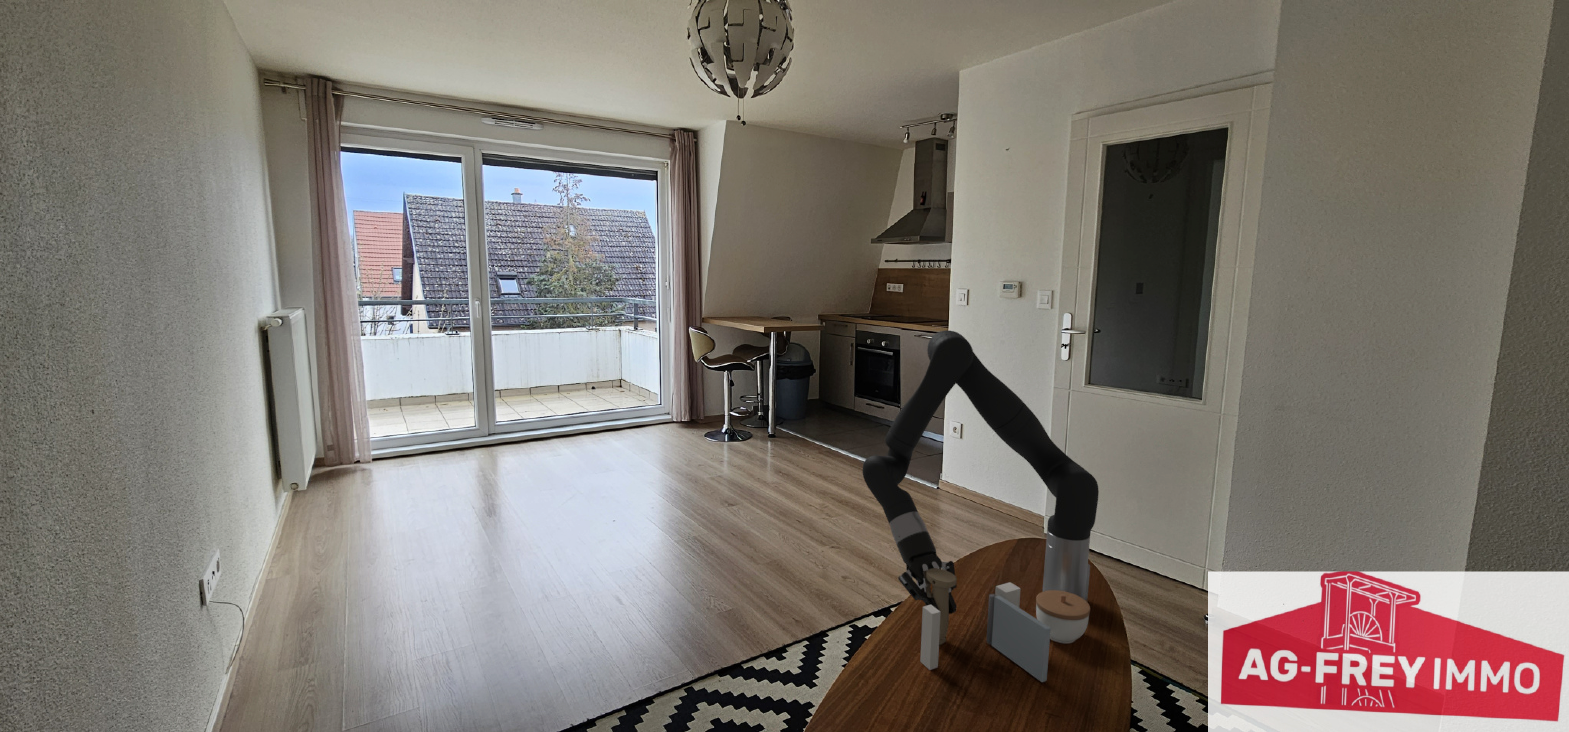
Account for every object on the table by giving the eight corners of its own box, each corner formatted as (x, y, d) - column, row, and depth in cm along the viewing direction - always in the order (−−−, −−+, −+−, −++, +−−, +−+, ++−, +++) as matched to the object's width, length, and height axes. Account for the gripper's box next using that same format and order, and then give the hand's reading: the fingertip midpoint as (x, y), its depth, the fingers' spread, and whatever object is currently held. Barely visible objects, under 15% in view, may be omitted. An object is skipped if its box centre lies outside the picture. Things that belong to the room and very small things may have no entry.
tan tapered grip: (942, 651, 139) (946, 584, 137) (918, 638, 144) (921, 572, 142) (957, 643, 142) (961, 577, 140) (932, 630, 147) (936, 565, 145)
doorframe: (1006, 633, 146) (1009, 582, 144) (1016, 640, 143) (1020, 588, 141) (920, 661, 136) (922, 606, 134) (929, 669, 133) (932, 613, 131)
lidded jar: (1082, 655, 138) (1086, 613, 137) (1028, 639, 144) (1031, 598, 142) (1091, 631, 147) (1094, 591, 146) (1039, 616, 153) (1042, 578, 151)
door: (984, 641, 142) (987, 592, 141) (990, 639, 143) (993, 590, 141) (1041, 682, 129) (1045, 629, 127) (1047, 680, 130) (1051, 627, 128)
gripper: (892, 536, 143) (926, 617, 135) (945, 524, 149) (981, 601, 141) (877, 549, 149) (909, 628, 140) (929, 538, 155) (962, 612, 146)
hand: (945, 614), depth 141 cm, fingers closed on tan tapered grip, 3 cm apart
